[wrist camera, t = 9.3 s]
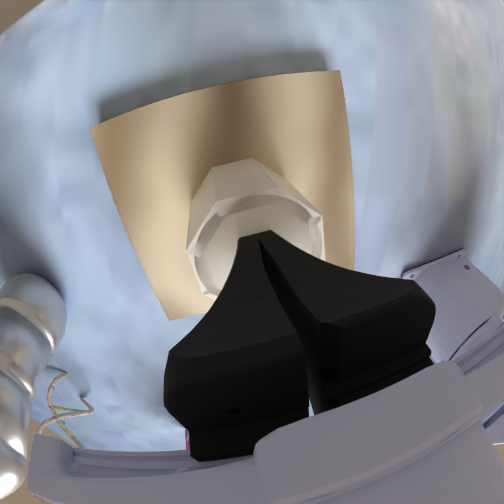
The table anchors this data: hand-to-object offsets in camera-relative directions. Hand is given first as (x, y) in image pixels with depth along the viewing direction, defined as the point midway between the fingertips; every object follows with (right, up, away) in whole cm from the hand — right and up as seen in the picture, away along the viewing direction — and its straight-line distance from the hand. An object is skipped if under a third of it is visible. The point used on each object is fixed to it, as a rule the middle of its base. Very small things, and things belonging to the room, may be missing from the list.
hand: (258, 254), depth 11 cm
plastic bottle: (-18, -3, +7) cm, 19 cm away
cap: (-1, +3, +5) cm, 5 cm away
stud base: (-1, +3, +6) cm, 7 cm away
